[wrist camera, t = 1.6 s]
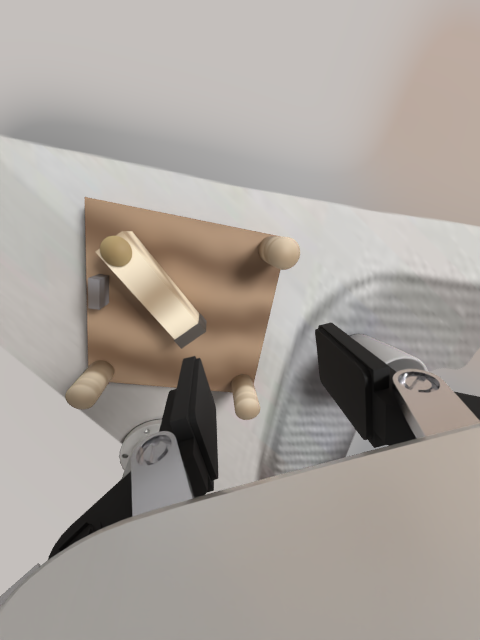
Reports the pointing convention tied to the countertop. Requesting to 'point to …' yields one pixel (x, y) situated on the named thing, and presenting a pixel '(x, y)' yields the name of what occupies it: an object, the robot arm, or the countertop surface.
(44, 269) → the countertop surface
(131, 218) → the stool seat
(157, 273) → the folding leg
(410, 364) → the cup
